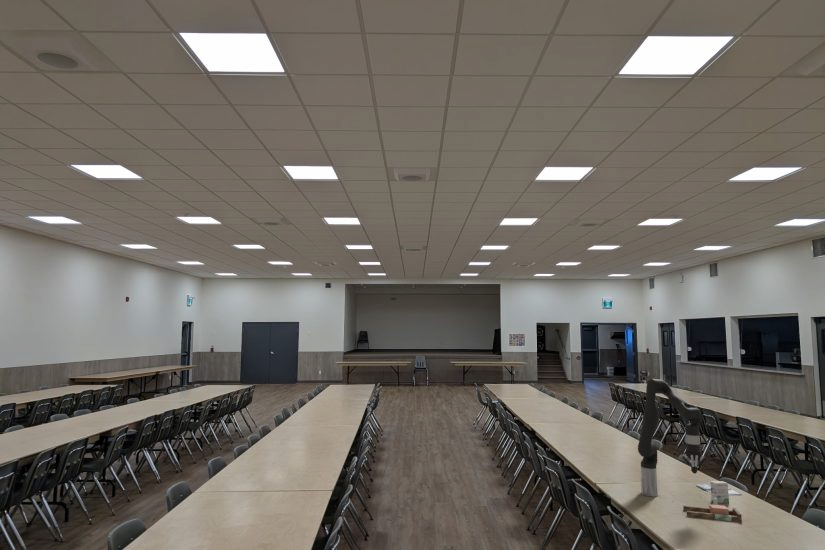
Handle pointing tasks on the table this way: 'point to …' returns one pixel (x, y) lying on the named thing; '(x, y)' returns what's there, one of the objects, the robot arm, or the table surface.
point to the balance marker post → (715, 501)
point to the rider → (719, 509)
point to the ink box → (719, 491)
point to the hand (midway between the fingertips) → (694, 473)
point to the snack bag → (708, 488)
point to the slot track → (706, 513)
